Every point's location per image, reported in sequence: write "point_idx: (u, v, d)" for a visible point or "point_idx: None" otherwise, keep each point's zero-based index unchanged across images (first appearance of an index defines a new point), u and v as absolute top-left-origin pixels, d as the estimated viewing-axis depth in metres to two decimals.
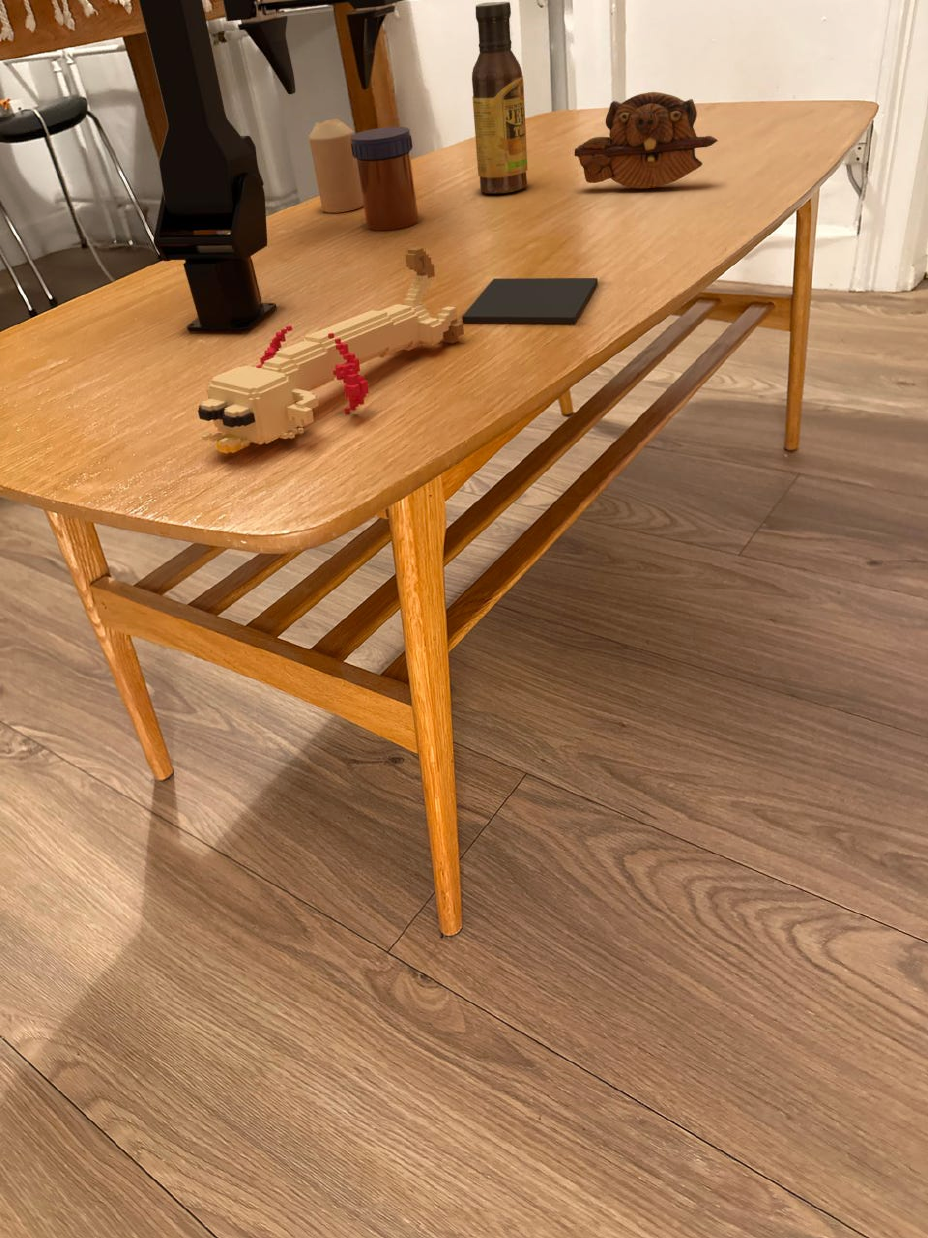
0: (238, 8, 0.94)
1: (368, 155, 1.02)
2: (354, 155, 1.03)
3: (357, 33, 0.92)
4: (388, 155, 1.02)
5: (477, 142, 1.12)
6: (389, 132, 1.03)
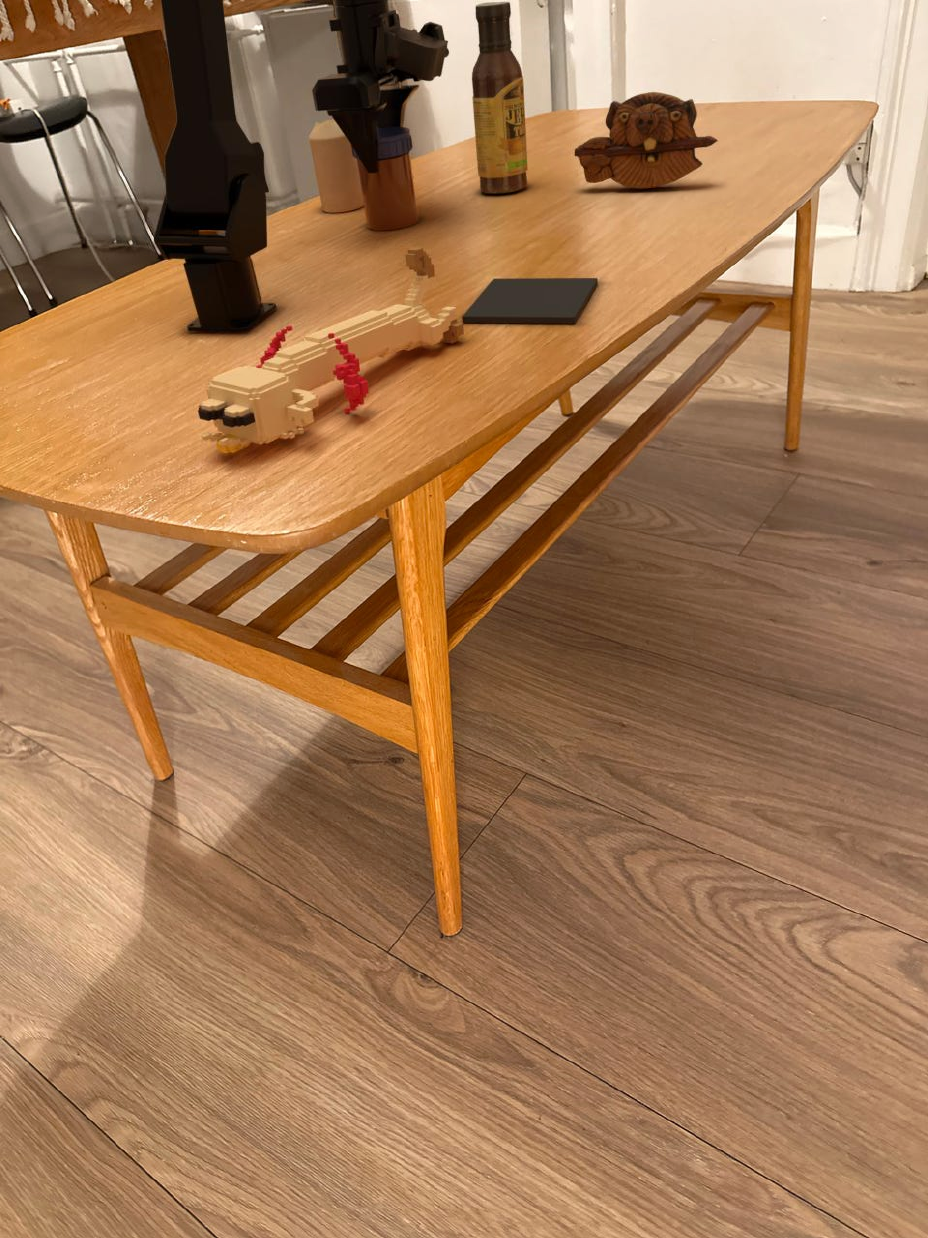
0: None
1: None
2: (354, 155, 1.03)
3: None
4: (388, 155, 1.02)
5: (477, 142, 1.12)
6: (389, 132, 1.03)
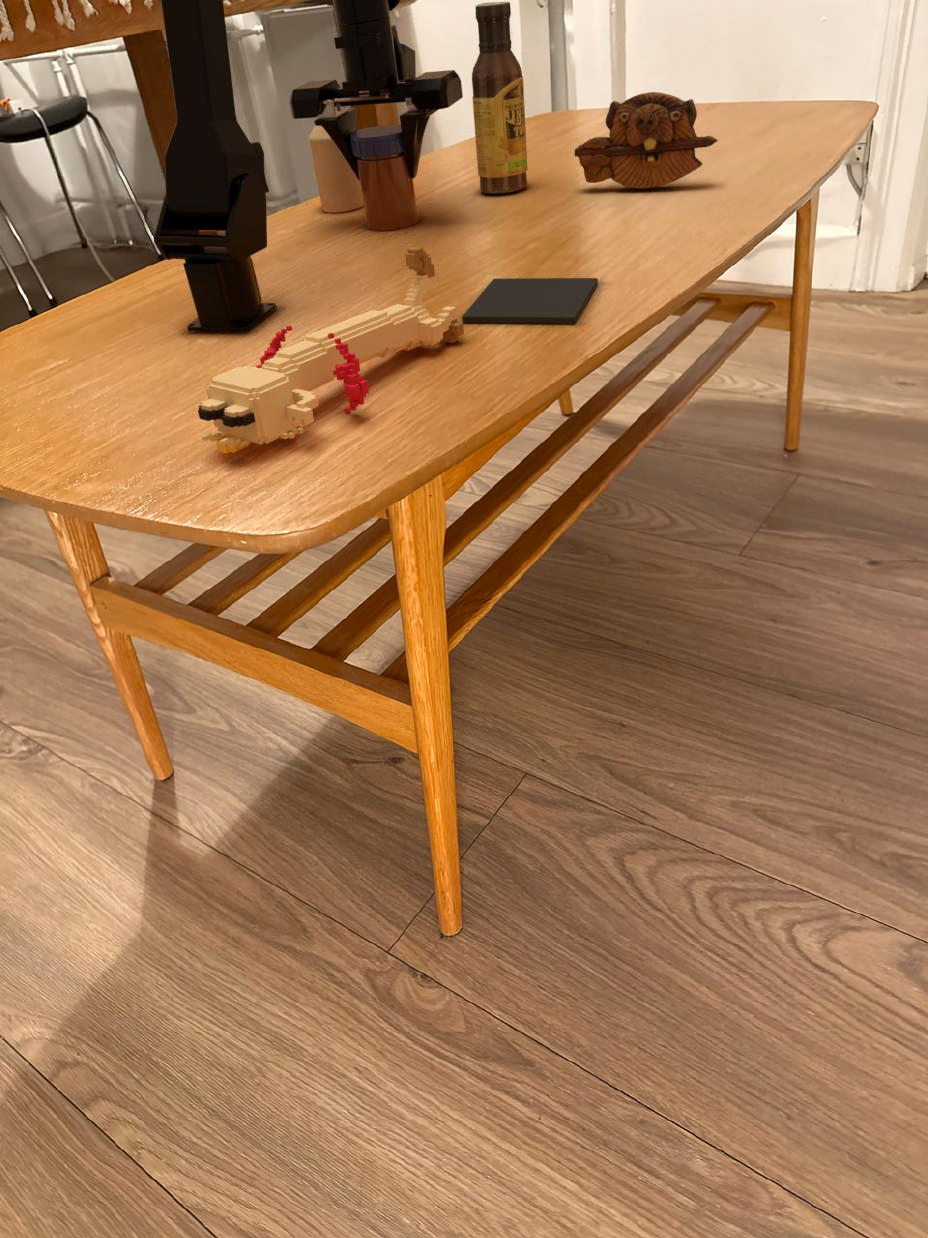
0: (306, 107, 1.01)
1: None
2: (392, 151, 1.02)
3: (409, 131, 1.00)
4: None
5: (477, 142, 1.12)
6: (382, 128, 1.04)
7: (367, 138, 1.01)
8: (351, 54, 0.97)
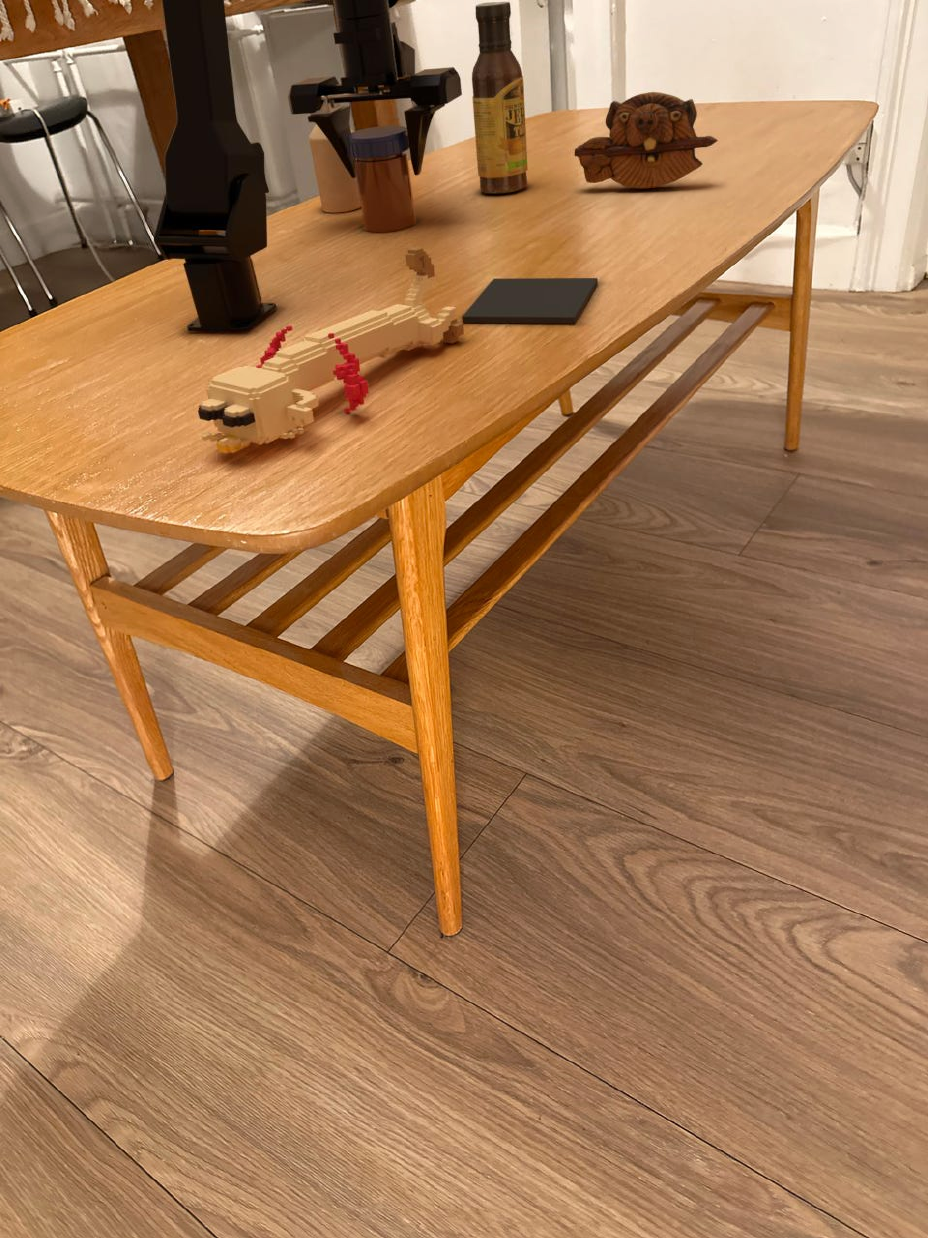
0: (304, 103, 1.01)
1: (405, 146, 1.02)
2: (389, 152, 1.01)
3: (413, 127, 1.00)
4: None
5: (477, 142, 1.12)
6: (379, 129, 1.04)
7: (364, 139, 1.00)
8: (350, 49, 0.96)
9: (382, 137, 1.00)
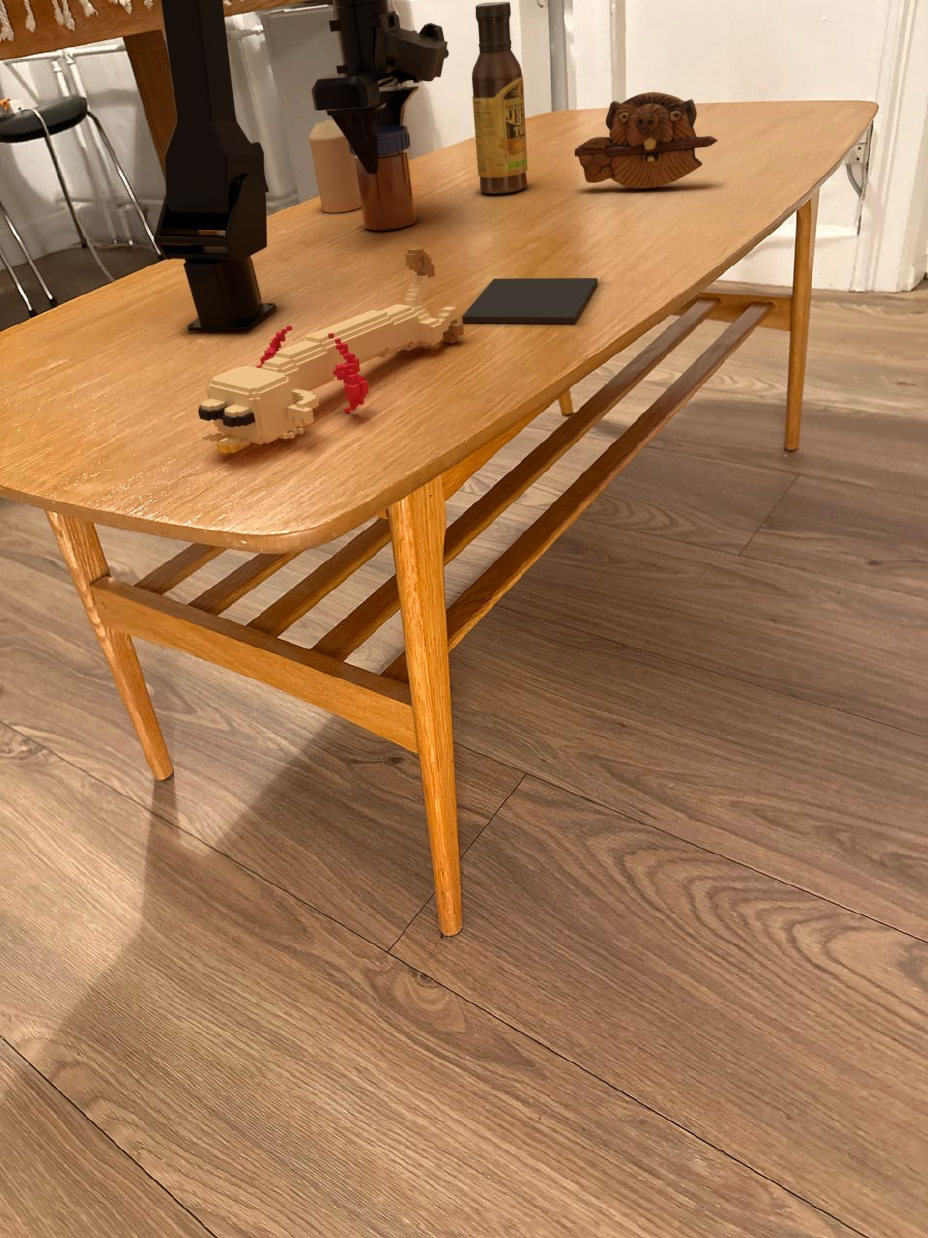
0: None
1: (403, 145, 1.02)
2: (385, 151, 1.01)
3: None
4: None
5: (477, 142, 1.12)
6: (382, 128, 1.04)
7: None
8: None
9: (377, 135, 1.00)
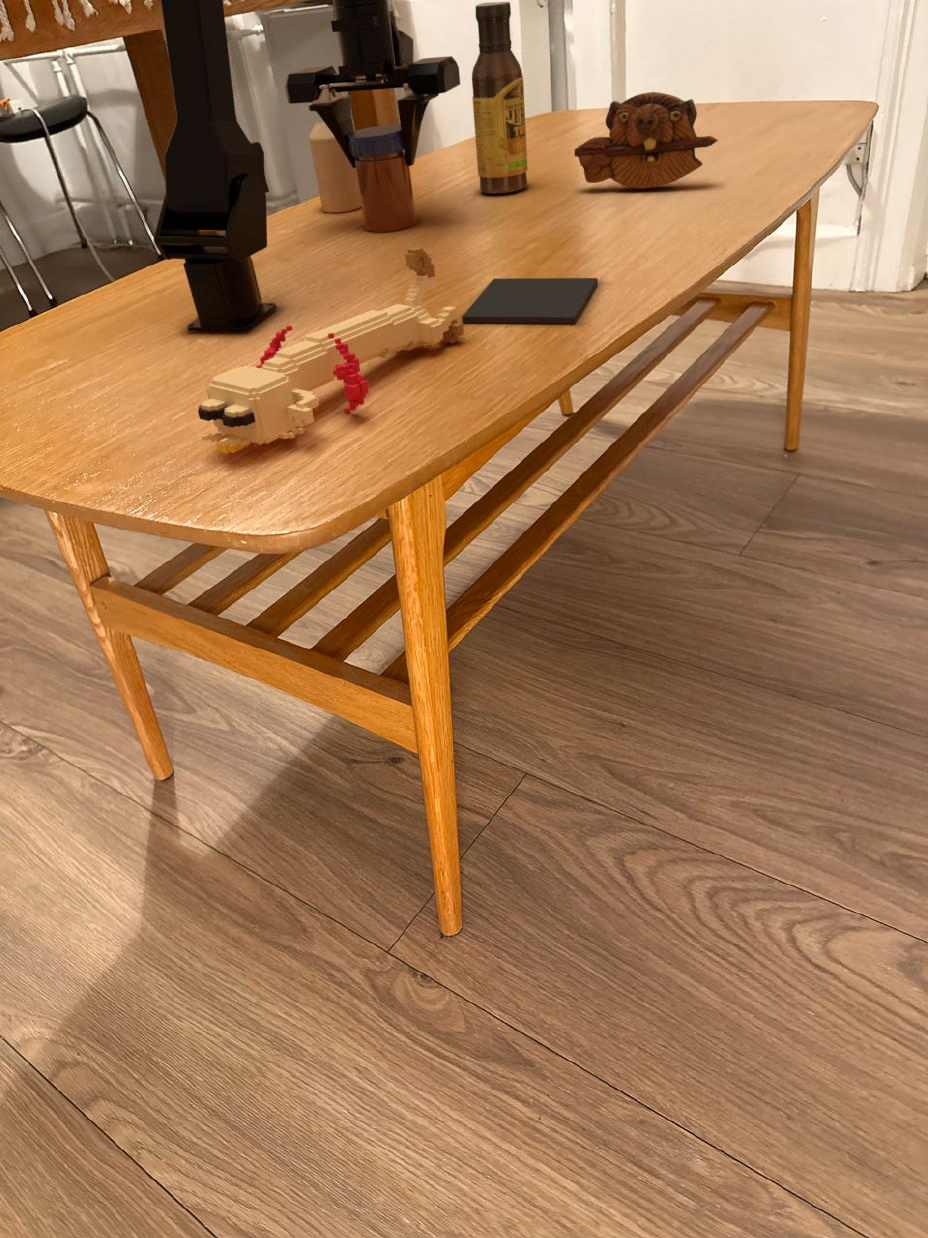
0: (301, 92, 1.00)
1: None
2: None
3: (406, 117, 0.99)
4: None
5: (477, 142, 1.12)
6: (368, 131, 1.03)
7: None
8: (348, 37, 0.96)
9: None
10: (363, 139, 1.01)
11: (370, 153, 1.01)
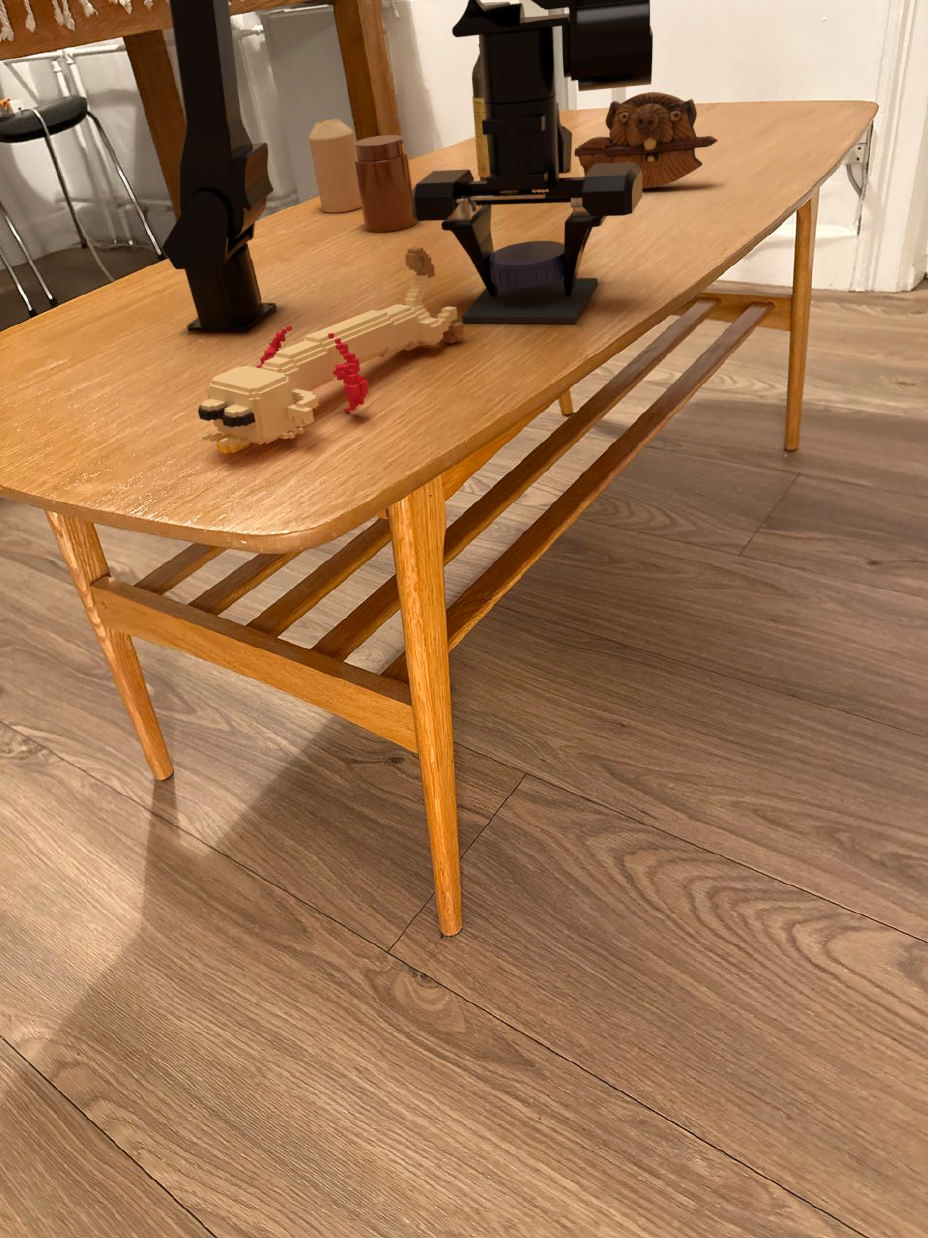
0: (434, 208, 0.77)
1: None
2: None
3: (574, 241, 0.75)
4: None
5: (477, 142, 1.12)
6: (515, 252, 0.80)
7: (563, 254, 0.78)
8: (503, 142, 0.72)
9: None
10: (514, 267, 0.77)
11: (522, 284, 0.78)
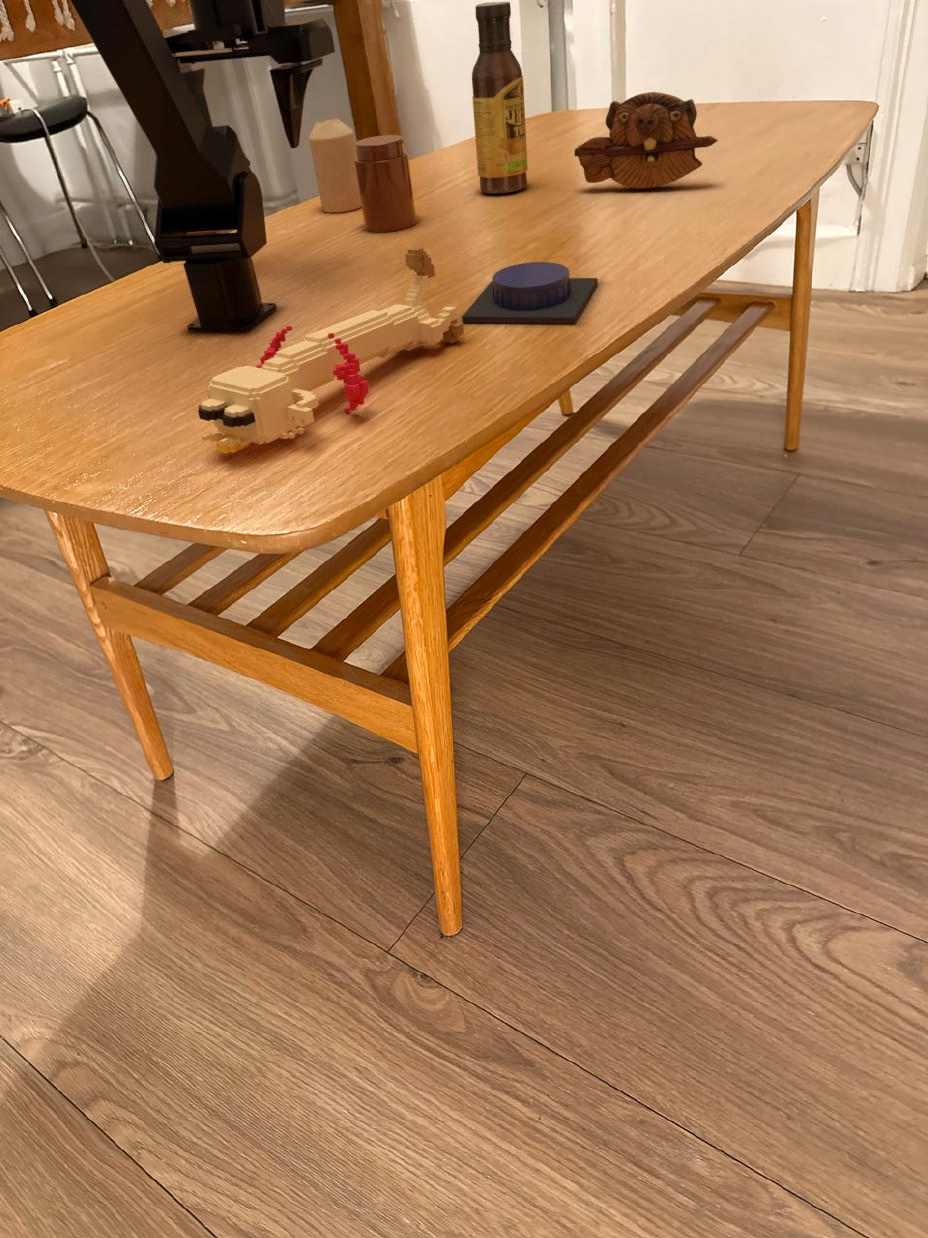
0: None
1: None
2: None
3: (282, 89, 0.84)
4: None
5: (477, 142, 1.12)
6: (518, 273, 0.81)
7: (565, 278, 0.79)
8: None
9: (568, 270, 0.81)
10: (516, 289, 0.78)
11: (524, 306, 0.79)
